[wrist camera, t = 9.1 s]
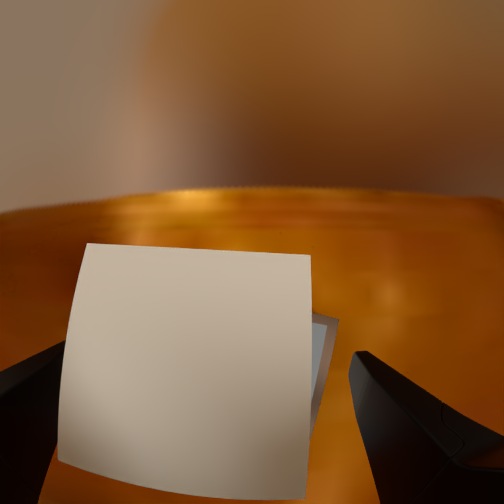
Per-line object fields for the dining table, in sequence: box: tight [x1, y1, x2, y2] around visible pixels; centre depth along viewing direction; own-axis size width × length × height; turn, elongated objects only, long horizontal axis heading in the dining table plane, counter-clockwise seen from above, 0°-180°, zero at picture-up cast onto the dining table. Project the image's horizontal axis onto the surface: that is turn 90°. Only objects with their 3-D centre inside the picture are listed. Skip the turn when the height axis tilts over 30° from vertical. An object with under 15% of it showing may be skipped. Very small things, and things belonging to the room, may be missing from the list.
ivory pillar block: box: [58, 243, 312, 500], centre depth 11 cm, size 5×5×12 cm
